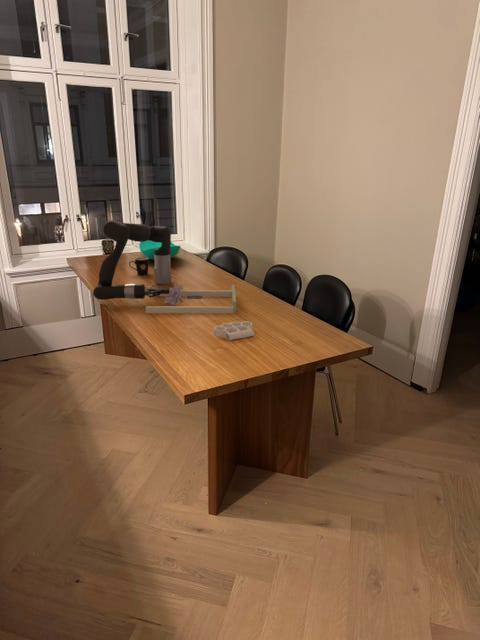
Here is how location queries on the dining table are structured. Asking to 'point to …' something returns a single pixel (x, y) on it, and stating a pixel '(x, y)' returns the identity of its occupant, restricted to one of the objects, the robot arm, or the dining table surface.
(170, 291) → the water lily
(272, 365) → the dining table surface
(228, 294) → the grey u-shaped frame
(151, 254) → the table top decor
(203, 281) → the dining table surface
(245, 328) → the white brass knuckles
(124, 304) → the dining table surface
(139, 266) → the coffee mug
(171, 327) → the dining table surface
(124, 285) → the robot arm
